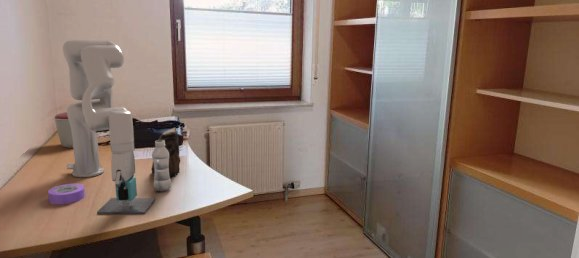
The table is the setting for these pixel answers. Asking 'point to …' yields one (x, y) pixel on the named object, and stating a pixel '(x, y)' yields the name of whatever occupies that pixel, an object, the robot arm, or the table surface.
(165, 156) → the plastic bottle
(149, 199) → the dark grey base plate
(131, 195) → the teal rounded cube
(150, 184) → the table surface
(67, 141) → the canister
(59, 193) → the masking tape
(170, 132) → the owl
